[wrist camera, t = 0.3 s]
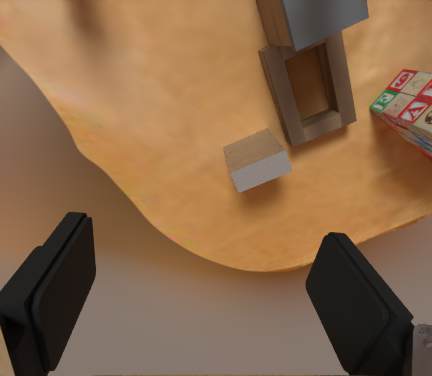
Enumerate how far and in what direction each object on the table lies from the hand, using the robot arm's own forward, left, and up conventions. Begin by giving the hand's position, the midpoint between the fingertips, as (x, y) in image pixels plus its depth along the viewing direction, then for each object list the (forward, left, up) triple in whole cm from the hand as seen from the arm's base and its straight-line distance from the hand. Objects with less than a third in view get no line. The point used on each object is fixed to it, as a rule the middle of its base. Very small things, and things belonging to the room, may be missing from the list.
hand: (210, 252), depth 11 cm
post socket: (-14, 0, -29) cm, 33 cm away
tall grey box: (-4, +9, -29) cm, 31 cm away
